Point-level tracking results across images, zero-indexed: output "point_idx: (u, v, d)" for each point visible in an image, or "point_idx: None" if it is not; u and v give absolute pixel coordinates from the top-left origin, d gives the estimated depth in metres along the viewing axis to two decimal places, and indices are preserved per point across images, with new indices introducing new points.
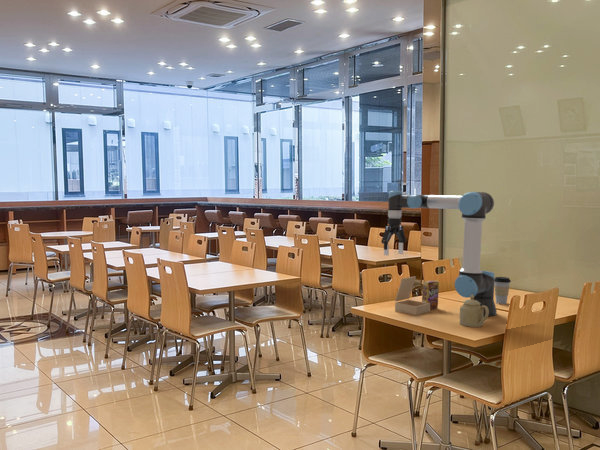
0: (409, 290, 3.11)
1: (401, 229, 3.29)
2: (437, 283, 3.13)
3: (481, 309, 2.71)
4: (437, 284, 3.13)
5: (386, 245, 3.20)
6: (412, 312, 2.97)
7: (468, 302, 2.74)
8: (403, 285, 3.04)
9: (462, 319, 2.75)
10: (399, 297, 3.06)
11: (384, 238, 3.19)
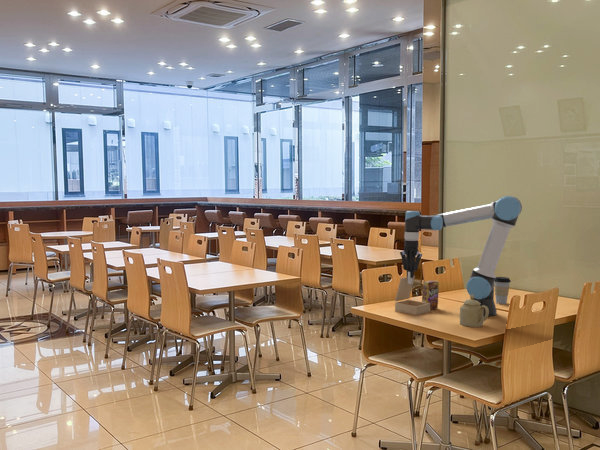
0: (409, 290, 3.11)
1: (417, 256, 3.01)
2: (437, 283, 3.13)
3: (481, 309, 2.71)
4: (437, 284, 3.13)
5: (407, 272, 3.05)
6: (412, 312, 2.97)
7: (468, 302, 2.74)
8: (402, 284, 3.05)
9: (462, 319, 2.75)
10: (399, 297, 3.06)
11: None
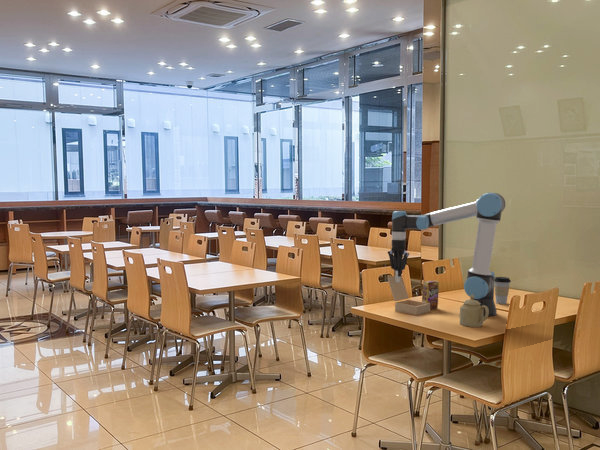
0: (403, 289, 3.14)
1: (404, 255, 3.07)
2: (437, 283, 3.13)
3: (481, 309, 2.71)
4: (437, 284, 3.13)
5: (395, 271, 3.11)
6: (412, 312, 2.97)
7: (468, 302, 2.74)
8: (393, 283, 3.09)
9: (462, 319, 2.75)
10: (397, 296, 3.07)
11: None
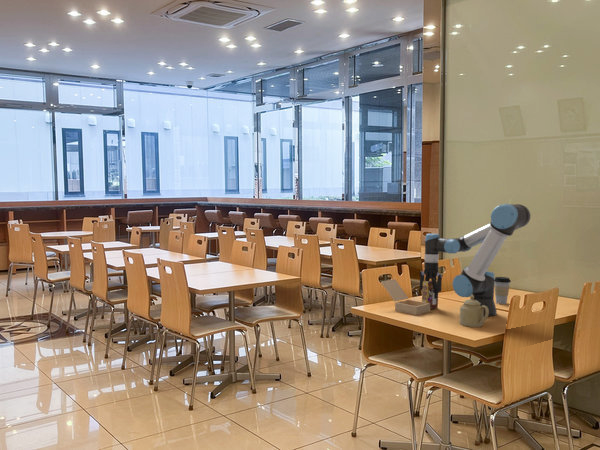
0: (400, 291, 3.15)
1: (438, 277, 3.08)
2: None
3: (481, 309, 2.71)
4: None
5: None
6: (412, 312, 2.97)
7: (468, 302, 2.74)
8: (388, 286, 3.11)
9: (462, 319, 2.75)
10: (395, 297, 3.08)
11: None
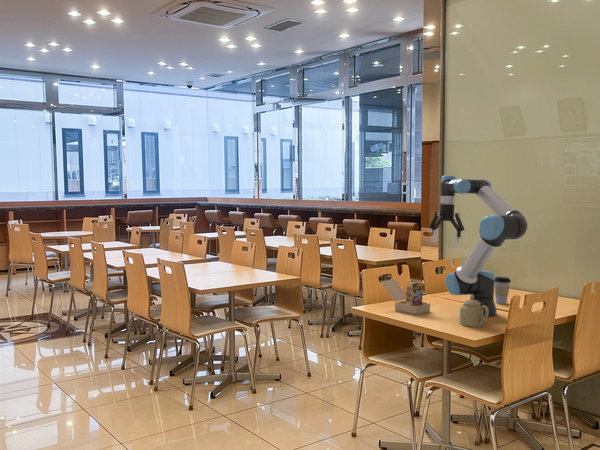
0: (400, 291, 3.15)
1: None
2: (421, 284, 3.04)
3: (481, 309, 2.71)
4: (421, 285, 3.04)
5: (433, 231, 3.17)
6: (412, 312, 2.97)
7: (468, 302, 2.74)
8: (388, 286, 3.11)
9: (462, 319, 2.75)
10: (395, 297, 3.08)
11: None
